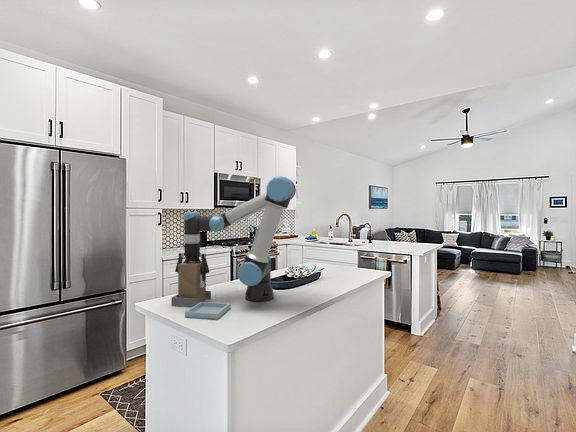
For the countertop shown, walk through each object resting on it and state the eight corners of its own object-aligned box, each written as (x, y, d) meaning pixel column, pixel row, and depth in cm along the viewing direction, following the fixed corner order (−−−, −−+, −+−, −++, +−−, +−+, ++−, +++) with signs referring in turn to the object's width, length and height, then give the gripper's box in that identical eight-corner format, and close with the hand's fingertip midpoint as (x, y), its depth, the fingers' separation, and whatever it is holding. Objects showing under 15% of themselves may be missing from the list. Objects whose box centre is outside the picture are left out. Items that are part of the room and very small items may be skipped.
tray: (230, 308, 146) (230, 303, 146) (217, 319, 131) (217, 314, 131) (200, 306, 149) (200, 301, 149) (185, 317, 134) (184, 311, 134)
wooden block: (196, 305, 150) (196, 264, 150) (177, 304, 152) (177, 263, 152) (206, 299, 160) (206, 261, 159) (188, 298, 162) (188, 260, 161)
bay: (210, 298, 162) (210, 290, 162) (197, 307, 148) (197, 299, 147) (187, 297, 165) (187, 289, 165) (171, 305, 150) (171, 297, 150)
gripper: (216, 242, 157) (216, 286, 158) (175, 241, 161) (175, 283, 162) (210, 244, 150) (210, 289, 150) (167, 243, 154) (167, 287, 154)
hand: (192, 286), depth 156 cm, fingers closed on wooden block, 10 cm apart
